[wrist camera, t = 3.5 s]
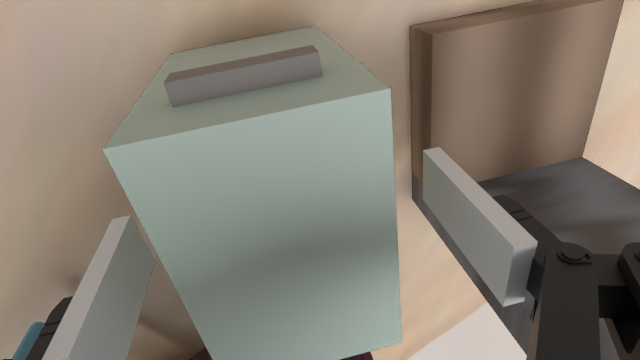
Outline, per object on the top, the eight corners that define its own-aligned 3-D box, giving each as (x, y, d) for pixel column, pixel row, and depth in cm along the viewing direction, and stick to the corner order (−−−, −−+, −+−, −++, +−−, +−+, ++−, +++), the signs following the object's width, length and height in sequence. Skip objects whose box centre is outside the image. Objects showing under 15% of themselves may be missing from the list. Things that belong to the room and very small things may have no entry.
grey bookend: (412, 199, 28) (617, 479, 13) (409, 26, 21) (825, 184, 6) (544, 167, 29) (881, 394, 14) (581, -8, 22) (1306, 58, 7)
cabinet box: (231, 224, 26) (228, 390, 16) (165, 38, 19) (87, 121, 9) (340, 198, 27) (402, 342, 17) (312, 10, 20) (389, 59, 10)
